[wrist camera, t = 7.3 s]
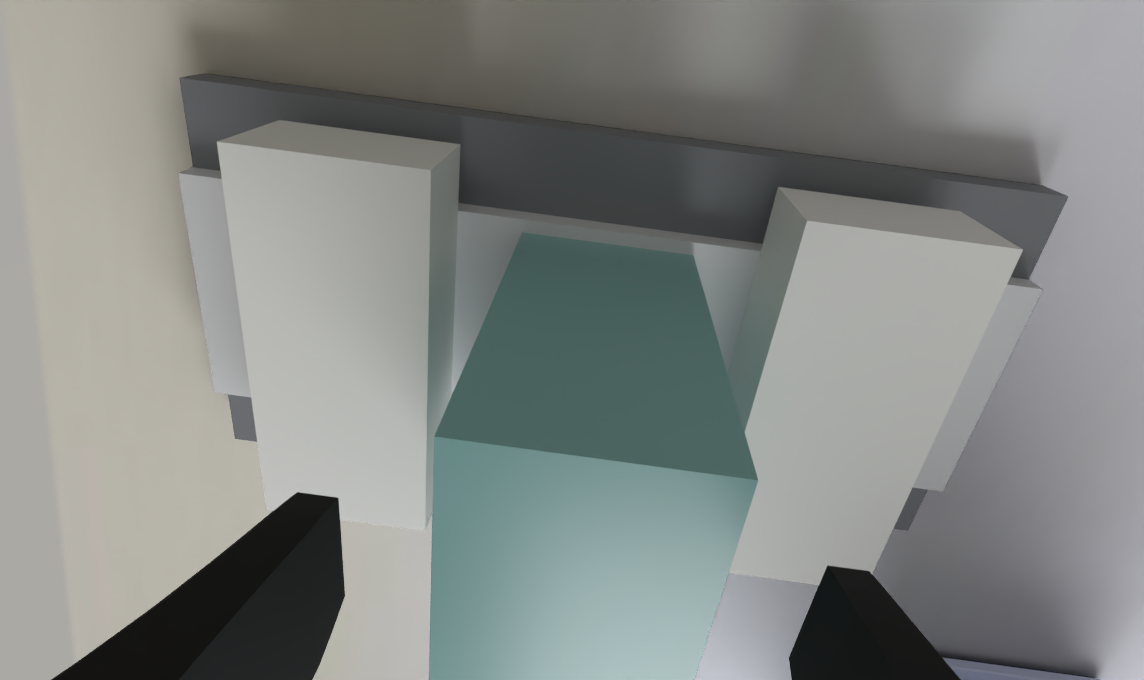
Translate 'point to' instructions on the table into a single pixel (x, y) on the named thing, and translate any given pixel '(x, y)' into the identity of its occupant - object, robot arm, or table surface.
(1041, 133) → the table surface
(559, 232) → the rail board
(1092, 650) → the table surface
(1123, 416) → the table surface
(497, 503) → the block
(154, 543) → the table surface
